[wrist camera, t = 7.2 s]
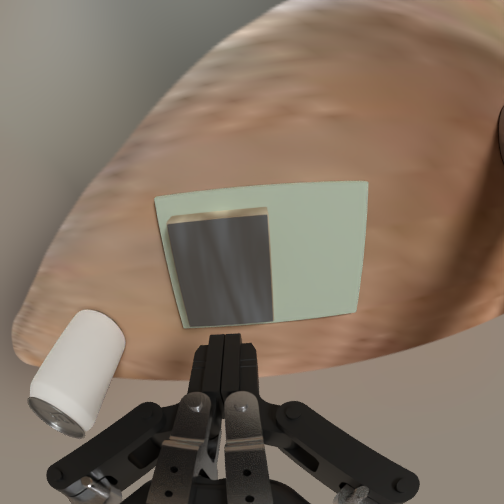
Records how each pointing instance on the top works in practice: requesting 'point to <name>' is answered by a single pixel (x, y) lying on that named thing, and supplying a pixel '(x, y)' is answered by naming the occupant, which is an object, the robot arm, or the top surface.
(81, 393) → the can
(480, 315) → the top surface
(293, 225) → the mat
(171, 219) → the tile
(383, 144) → the top surface
